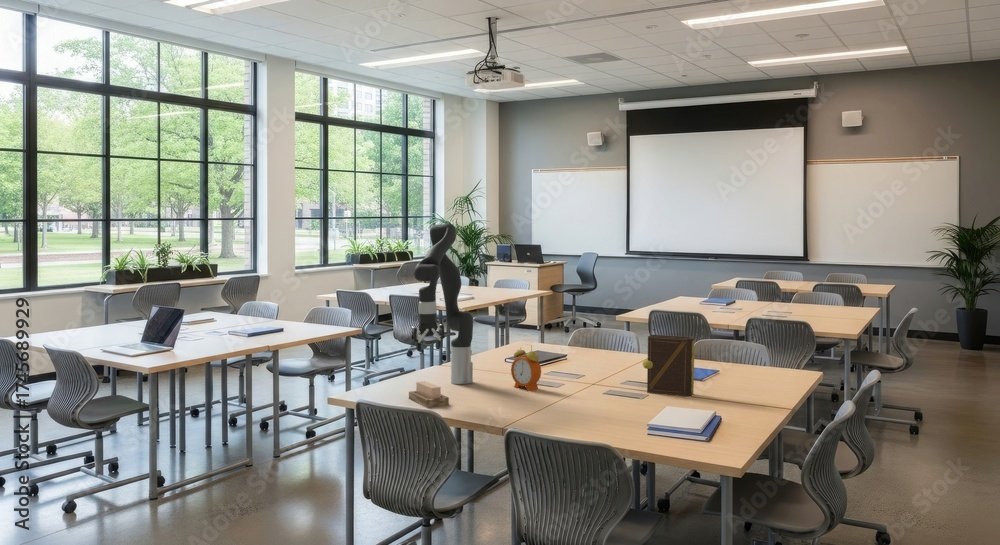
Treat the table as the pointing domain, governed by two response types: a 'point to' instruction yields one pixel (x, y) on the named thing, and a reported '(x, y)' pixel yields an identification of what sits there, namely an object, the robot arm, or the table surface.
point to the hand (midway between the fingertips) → (428, 350)
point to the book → (670, 365)
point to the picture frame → (428, 400)
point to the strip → (428, 390)
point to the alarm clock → (526, 369)
